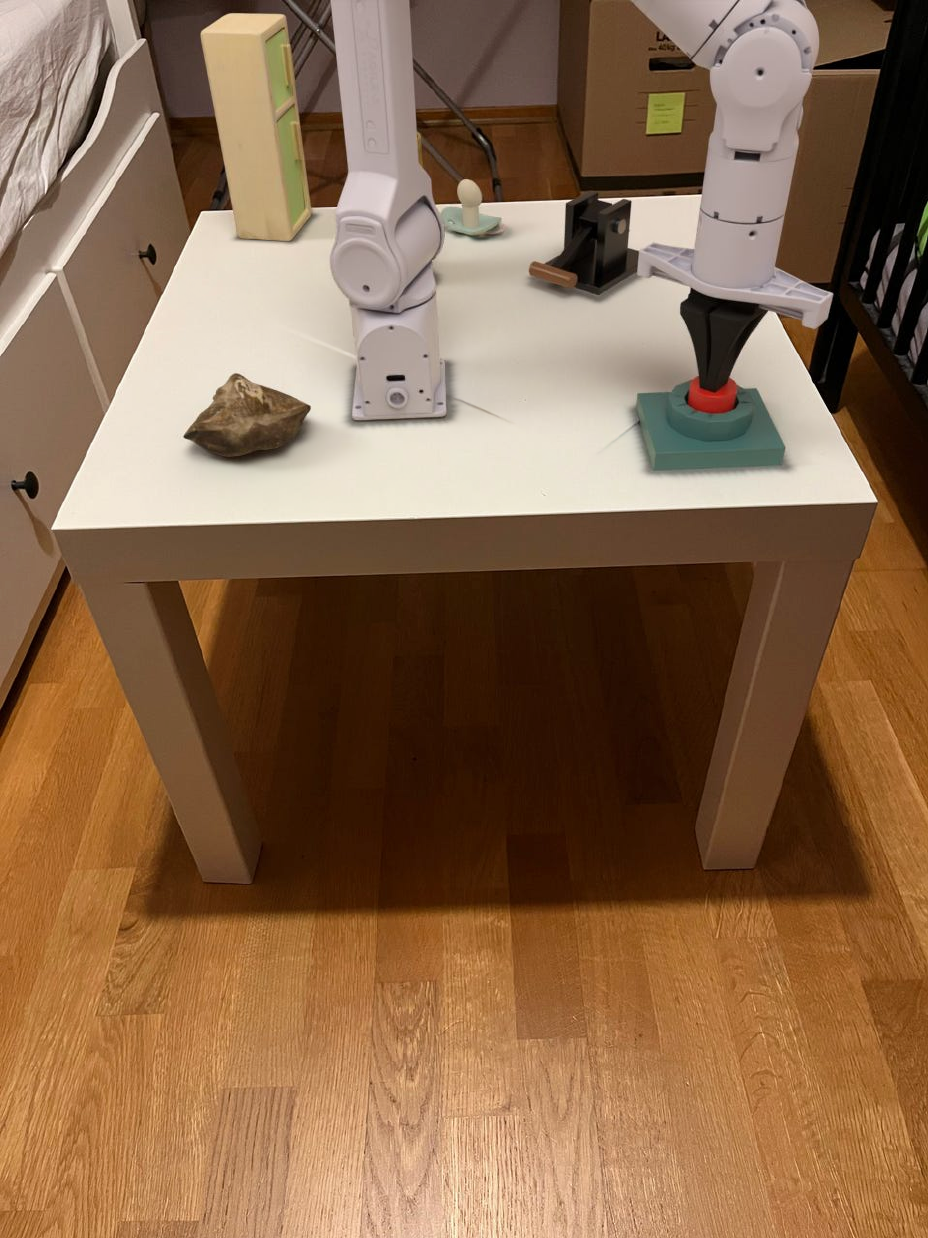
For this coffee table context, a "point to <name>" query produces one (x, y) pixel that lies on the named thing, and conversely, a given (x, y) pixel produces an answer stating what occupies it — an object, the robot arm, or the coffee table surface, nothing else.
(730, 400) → the button
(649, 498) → the coffee table surface
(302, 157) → the toy refrigerator
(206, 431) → the fossilized seashell
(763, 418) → the button block
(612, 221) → the bracket
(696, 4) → the robot arm
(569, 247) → the lever
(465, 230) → the pacifier
